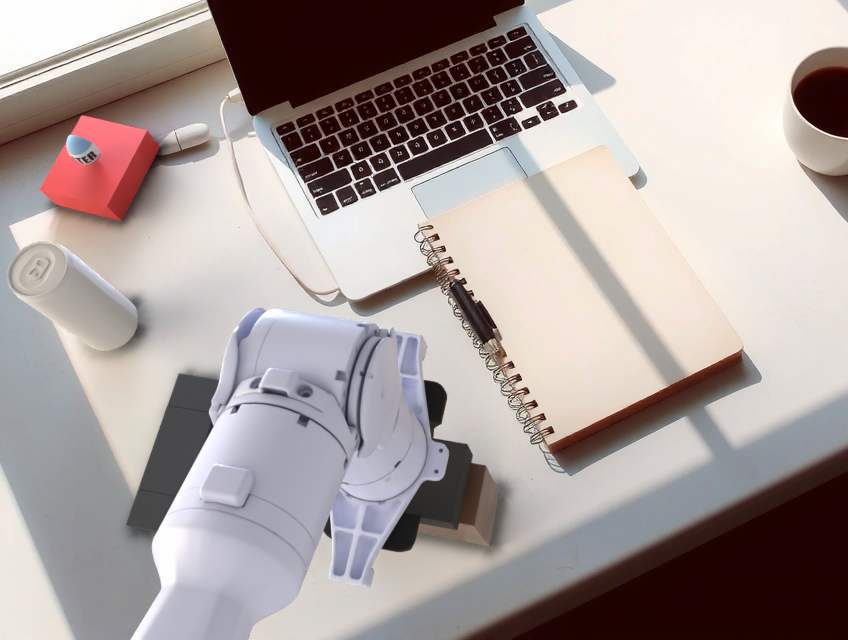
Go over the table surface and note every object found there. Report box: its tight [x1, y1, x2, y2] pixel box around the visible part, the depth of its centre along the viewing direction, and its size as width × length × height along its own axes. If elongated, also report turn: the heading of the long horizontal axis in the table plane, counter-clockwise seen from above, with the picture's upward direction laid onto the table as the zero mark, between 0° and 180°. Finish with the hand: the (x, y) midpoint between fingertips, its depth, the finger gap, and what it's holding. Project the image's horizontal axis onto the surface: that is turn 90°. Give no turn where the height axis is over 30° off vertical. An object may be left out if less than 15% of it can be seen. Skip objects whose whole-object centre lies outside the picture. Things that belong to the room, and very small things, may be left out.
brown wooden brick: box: [417, 462, 500, 547], centre depth 66 cm, size 4×10×10 cm, turn 79°
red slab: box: [39, 114, 161, 222], centre depth 82 cm, size 8×7×6 cm
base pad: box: [125, 373, 219, 534], centre depth 72 cm, size 12×10×2 cm
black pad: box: [406, 437, 474, 530], centre depth 60 cm, size 5×8×3 cm, turn 79°
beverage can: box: [6, 240, 139, 352], centre depth 73 cm, size 5×5×12 cm
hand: (407, 482), depth 62 cm, fingers closed on black pad, 5 cm apart
